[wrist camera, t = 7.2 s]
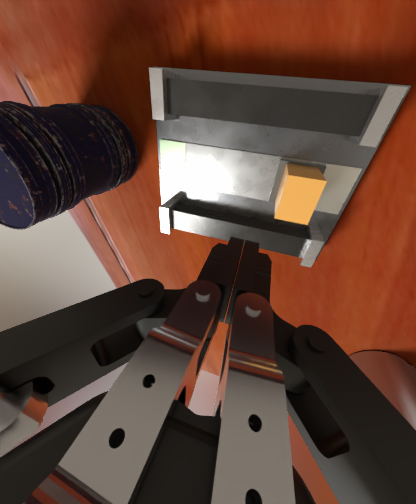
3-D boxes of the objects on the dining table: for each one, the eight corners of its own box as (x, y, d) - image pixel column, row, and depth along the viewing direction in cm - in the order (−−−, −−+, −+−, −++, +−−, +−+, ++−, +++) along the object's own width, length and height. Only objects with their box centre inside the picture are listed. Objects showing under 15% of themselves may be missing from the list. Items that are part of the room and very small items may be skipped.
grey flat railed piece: (399, 87, 17) (437, 80, 12) (315, 248, 27) (322, 273, 23) (162, 70, 20) (133, 60, 16) (168, 216, 31) (151, 232, 27)
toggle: (325, 165, 19) (337, 180, 15) (308, 206, 22) (314, 228, 18) (280, 158, 20) (280, 171, 16) (268, 199, 23) (266, 218, 19)
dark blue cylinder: (110, 87, 23) (-64, 64, 11) (151, 172, 27) (57, 217, 16) (62, 123, 27) (-101, 133, 15) (104, 191, 32) (3, 238, 20)
